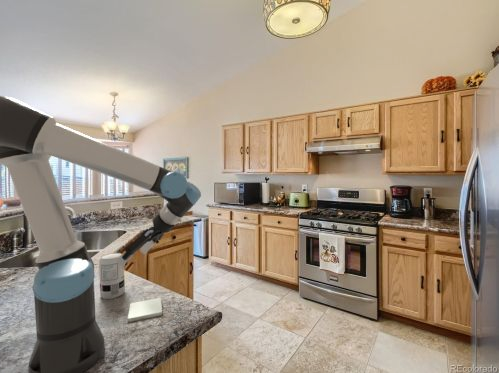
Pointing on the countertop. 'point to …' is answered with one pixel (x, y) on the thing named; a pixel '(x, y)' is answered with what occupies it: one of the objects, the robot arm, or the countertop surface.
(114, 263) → the supplement can
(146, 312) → the white square coaster
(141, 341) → the countertop surface
